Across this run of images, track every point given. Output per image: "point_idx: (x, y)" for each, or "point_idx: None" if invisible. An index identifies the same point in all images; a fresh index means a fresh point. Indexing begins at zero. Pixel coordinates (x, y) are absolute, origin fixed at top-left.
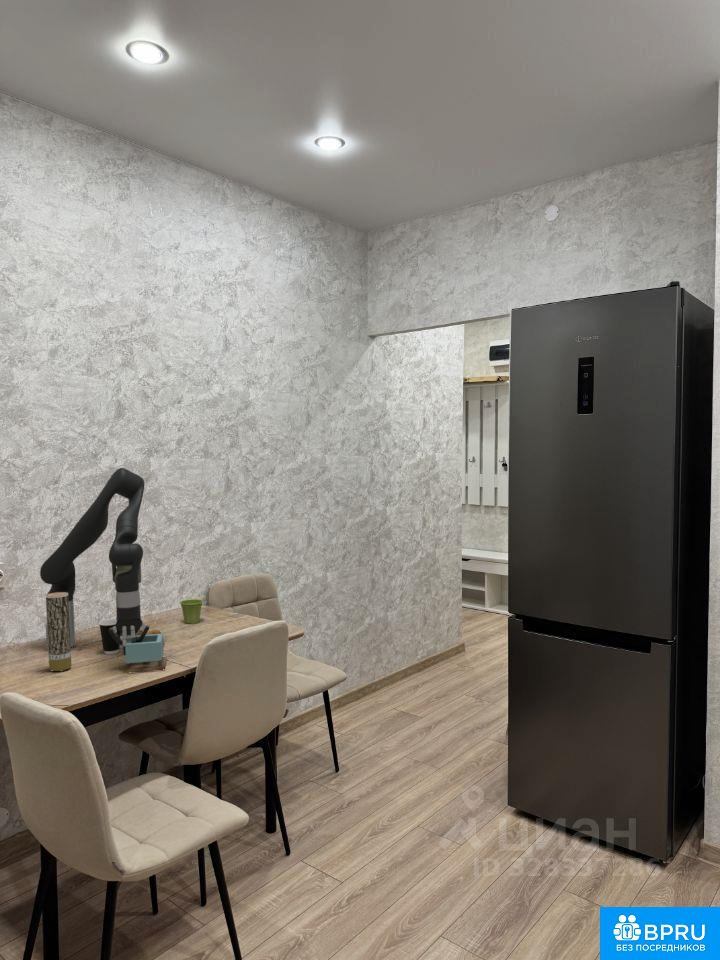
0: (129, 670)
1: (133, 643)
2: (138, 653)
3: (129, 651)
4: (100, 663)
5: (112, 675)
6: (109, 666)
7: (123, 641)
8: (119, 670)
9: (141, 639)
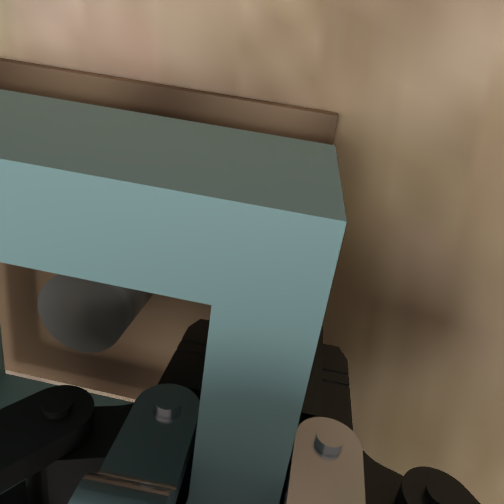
0: (301, 109)
1: (147, 261)
2: (133, 136)
3: (268, 164)
4: (500, 500)
5: (480, 114)
6: (449, 400)
7: (351, 496)
8: (385, 251)
9: (3, 427)
